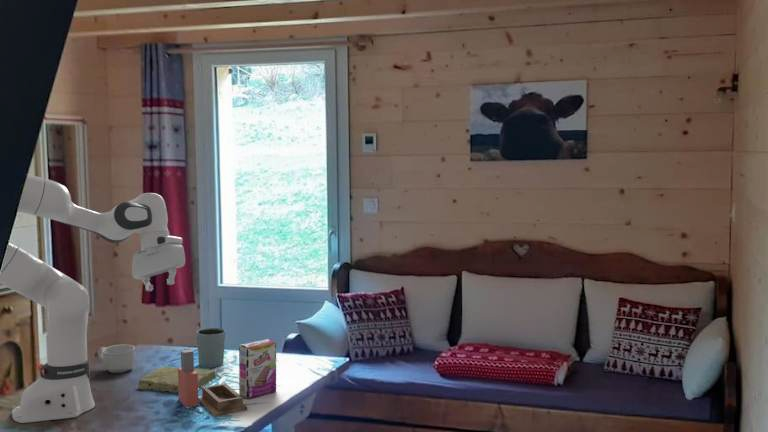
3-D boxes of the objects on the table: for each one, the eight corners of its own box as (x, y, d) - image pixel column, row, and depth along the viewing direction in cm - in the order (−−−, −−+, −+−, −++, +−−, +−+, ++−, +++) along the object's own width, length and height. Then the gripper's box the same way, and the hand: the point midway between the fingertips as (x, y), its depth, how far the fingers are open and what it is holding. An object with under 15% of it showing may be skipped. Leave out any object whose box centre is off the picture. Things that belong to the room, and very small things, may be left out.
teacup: (142, 369, 268) (141, 346, 267) (116, 377, 259) (115, 354, 258) (116, 363, 275) (115, 341, 275) (90, 370, 266) (89, 348, 265)
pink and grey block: (186, 407, 228) (185, 355, 226) (178, 399, 236) (177, 348, 234) (198, 405, 230) (197, 353, 228) (189, 397, 237) (188, 346, 236)
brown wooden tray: (214, 416, 220) (214, 402, 220) (198, 400, 234) (197, 388, 234) (247, 410, 225) (247, 396, 225) (229, 395, 239) (229, 382, 239)
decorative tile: (162, 374, 263) (161, 364, 263) (216, 378, 259) (216, 367, 258) (133, 391, 245) (133, 381, 244) (191, 395, 241) (191, 384, 240)
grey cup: (199, 360, 278) (198, 328, 277) (227, 359, 279) (226, 327, 278) (195, 368, 268) (194, 334, 267) (224, 367, 269) (224, 334, 268)
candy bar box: (248, 400, 235) (247, 347, 233) (238, 396, 238) (237, 344, 237) (277, 391, 242) (276, 340, 241) (268, 388, 246) (267, 338, 244)
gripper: (125, 251, 241) (129, 294, 238) (170, 235, 232) (175, 280, 229) (140, 252, 247) (144, 294, 244) (186, 237, 237) (191, 280, 234)
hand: (160, 287), depth 236 cm, fingers open, 8 cm apart
